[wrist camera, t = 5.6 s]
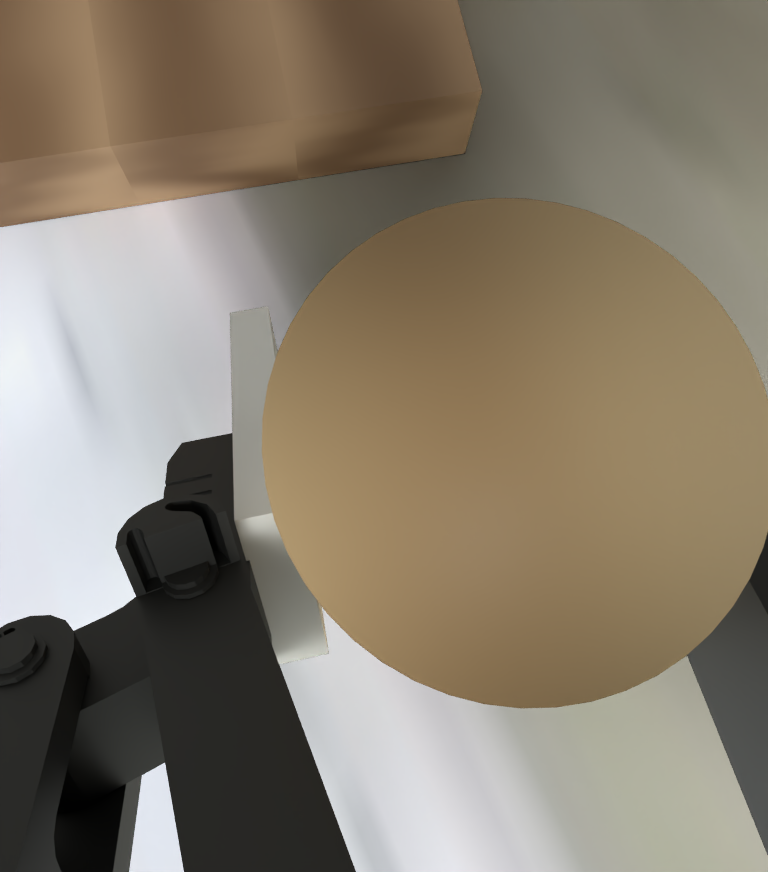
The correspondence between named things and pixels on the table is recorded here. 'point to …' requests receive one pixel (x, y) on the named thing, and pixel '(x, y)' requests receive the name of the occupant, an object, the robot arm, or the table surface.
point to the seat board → (220, 96)
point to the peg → (518, 453)
